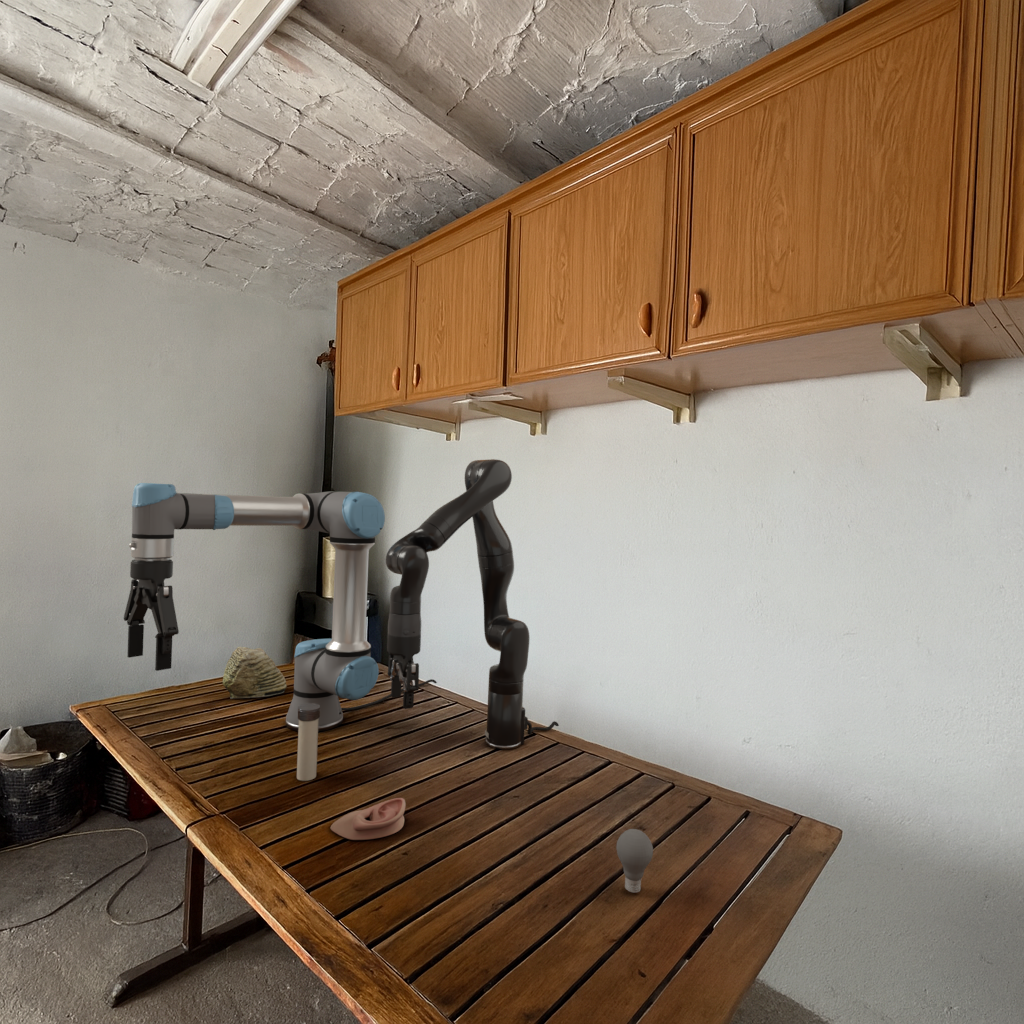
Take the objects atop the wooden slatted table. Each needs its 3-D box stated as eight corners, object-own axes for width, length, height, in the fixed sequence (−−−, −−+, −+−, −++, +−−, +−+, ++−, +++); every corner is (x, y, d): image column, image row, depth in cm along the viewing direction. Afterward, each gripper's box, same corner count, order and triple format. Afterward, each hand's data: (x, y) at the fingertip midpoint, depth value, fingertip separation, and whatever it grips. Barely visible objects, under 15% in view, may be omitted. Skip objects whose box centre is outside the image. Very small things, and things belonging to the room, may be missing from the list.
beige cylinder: (292, 776, 142) (295, 708, 142) (308, 770, 146) (311, 704, 146) (304, 782, 140) (306, 713, 140) (320, 776, 143) (322, 708, 143)
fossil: (218, 695, 195) (220, 647, 195) (278, 685, 208) (279, 640, 207) (228, 703, 189) (230, 653, 188) (289, 692, 201) (290, 645, 201)
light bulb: (610, 879, 108) (613, 822, 108) (644, 879, 109) (647, 822, 109) (619, 902, 102) (622, 840, 102) (655, 901, 103) (658, 840, 103)
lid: (293, 717, 142) (293, 706, 142) (311, 712, 146) (311, 701, 146) (306, 722, 139) (306, 711, 139) (324, 717, 143) (324, 706, 143)
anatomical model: (323, 814, 118) (350, 787, 130) (322, 835, 118) (350, 806, 130) (389, 824, 116) (412, 796, 127) (389, 846, 116) (411, 816, 127)
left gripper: (108, 554, 134) (104, 654, 134) (159, 565, 118) (155, 678, 119) (146, 552, 140) (143, 648, 140) (199, 563, 124) (195, 671, 124)
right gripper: (431, 637, 140) (428, 710, 140) (409, 624, 152) (407, 691, 153) (398, 639, 136) (395, 714, 137) (379, 626, 149) (376, 695, 149)
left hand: (148, 662), depth 129 cm, fingers open, 13 cm apart
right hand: (401, 702), depth 145 cm, fingers open, 8 cm apart
